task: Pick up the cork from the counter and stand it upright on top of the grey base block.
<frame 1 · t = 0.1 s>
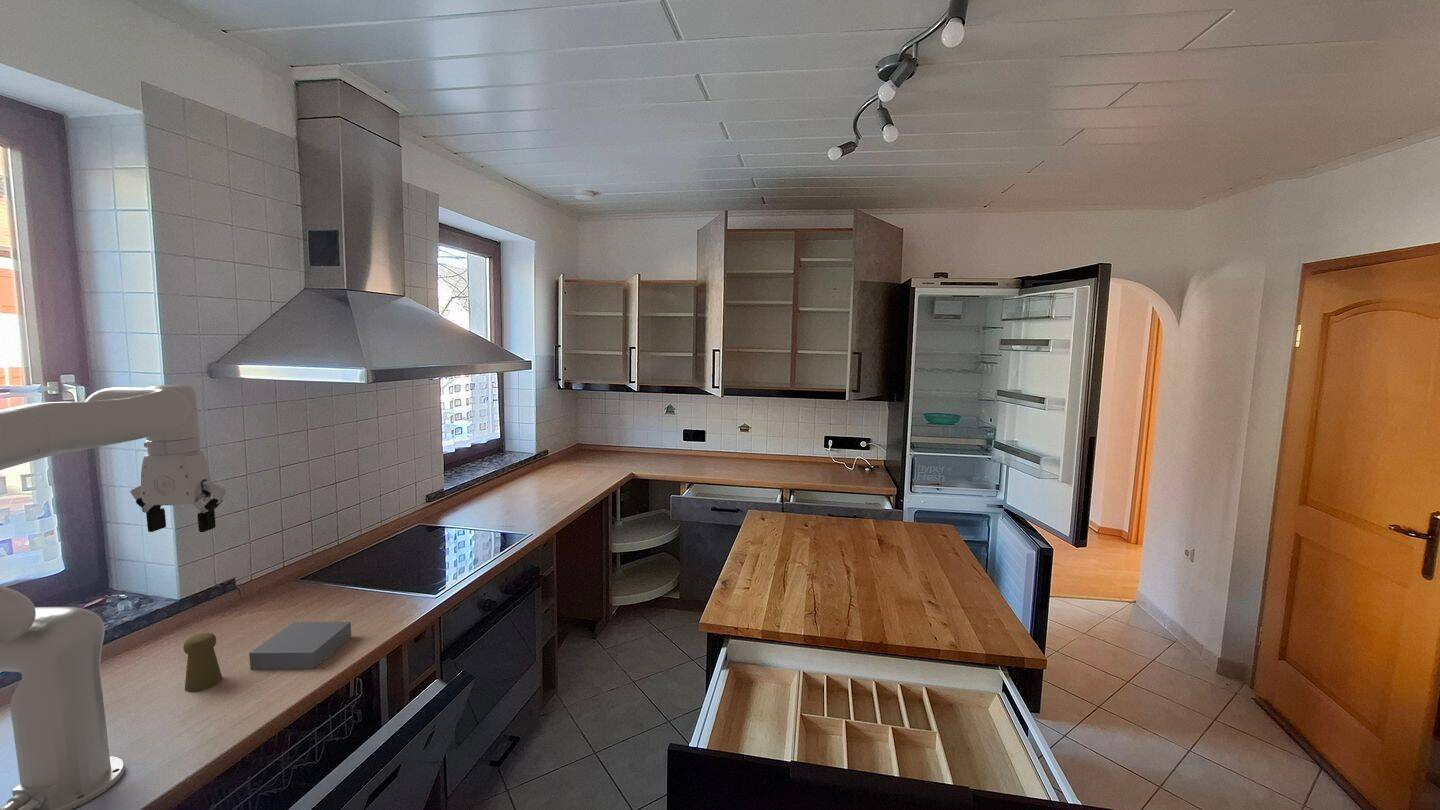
hand: (182, 529, 111), 37 cm above the countertop, tool pointing down, fingers open, 9 cm apart
cork: (203, 684, 120), on the countertop
base block: (303, 652, 133), on the countertop
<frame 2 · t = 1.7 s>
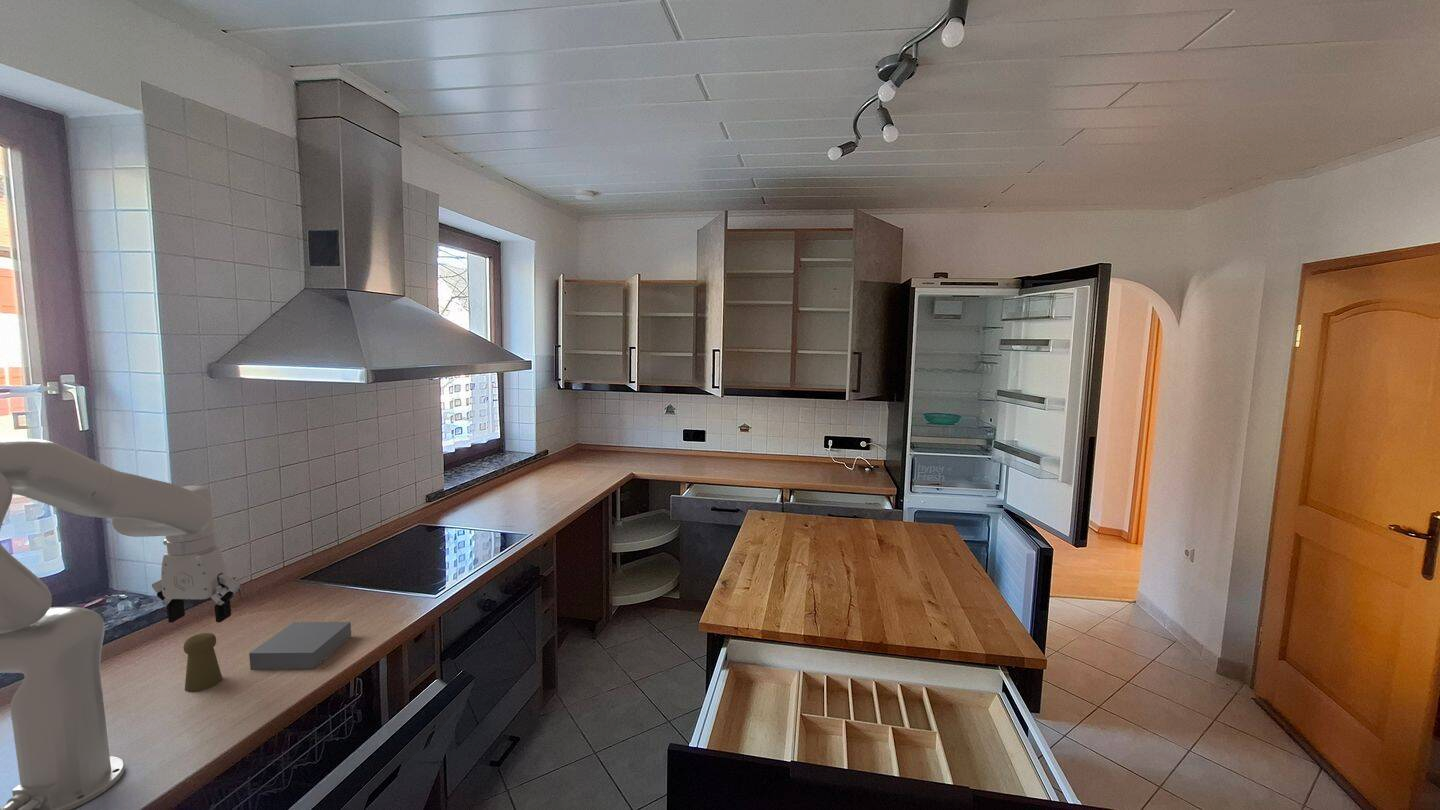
hand: (200, 619, 119), 14 cm above the countertop, tool pointing down, fingers open, 9 cm apart
nothing on the countertop moved.
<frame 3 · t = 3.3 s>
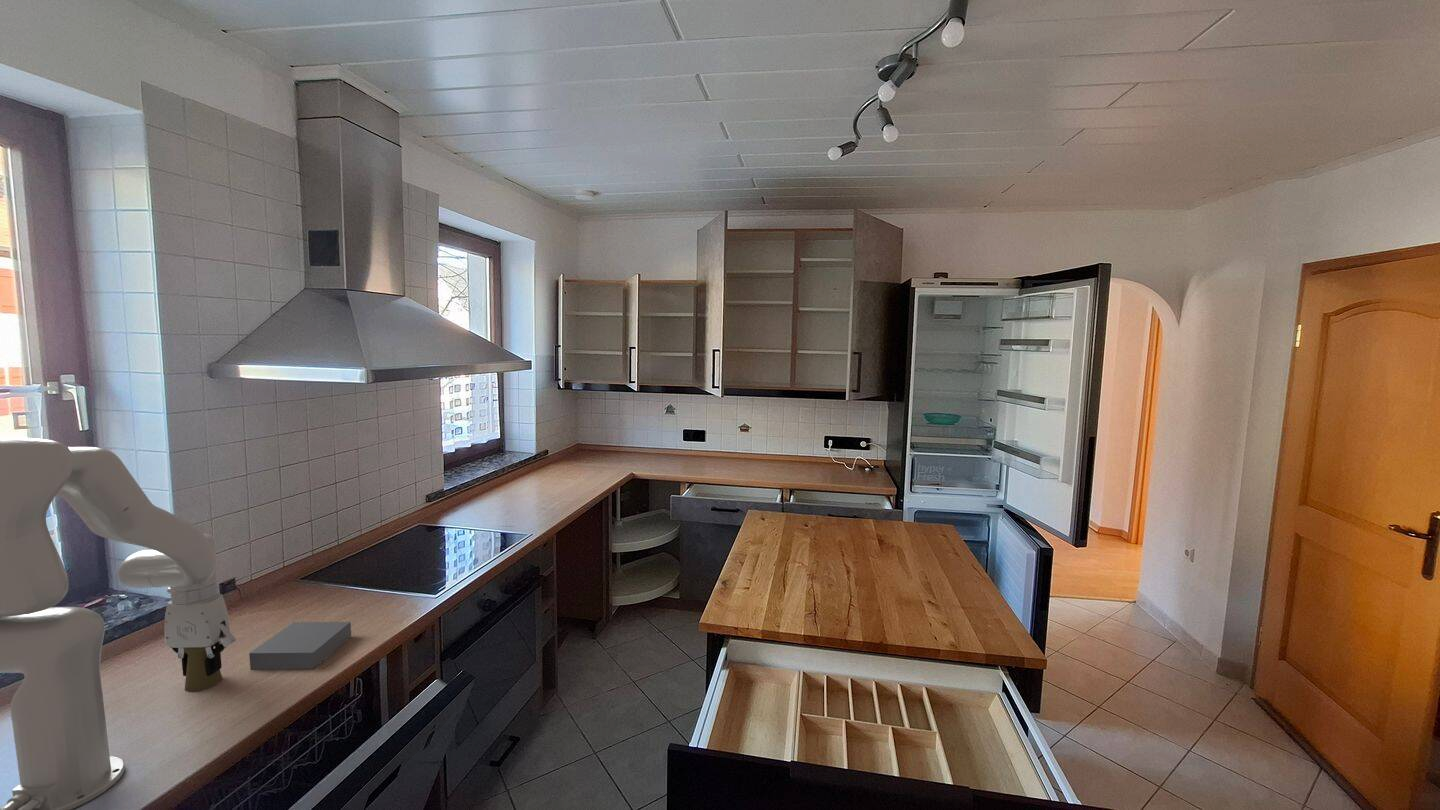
hand: (202, 671, 120), 3 cm above the countertop, tool pointing down, fingers closed on cork, 4 cm apart
cork: (203, 684, 120), on the countertop, touching gripper
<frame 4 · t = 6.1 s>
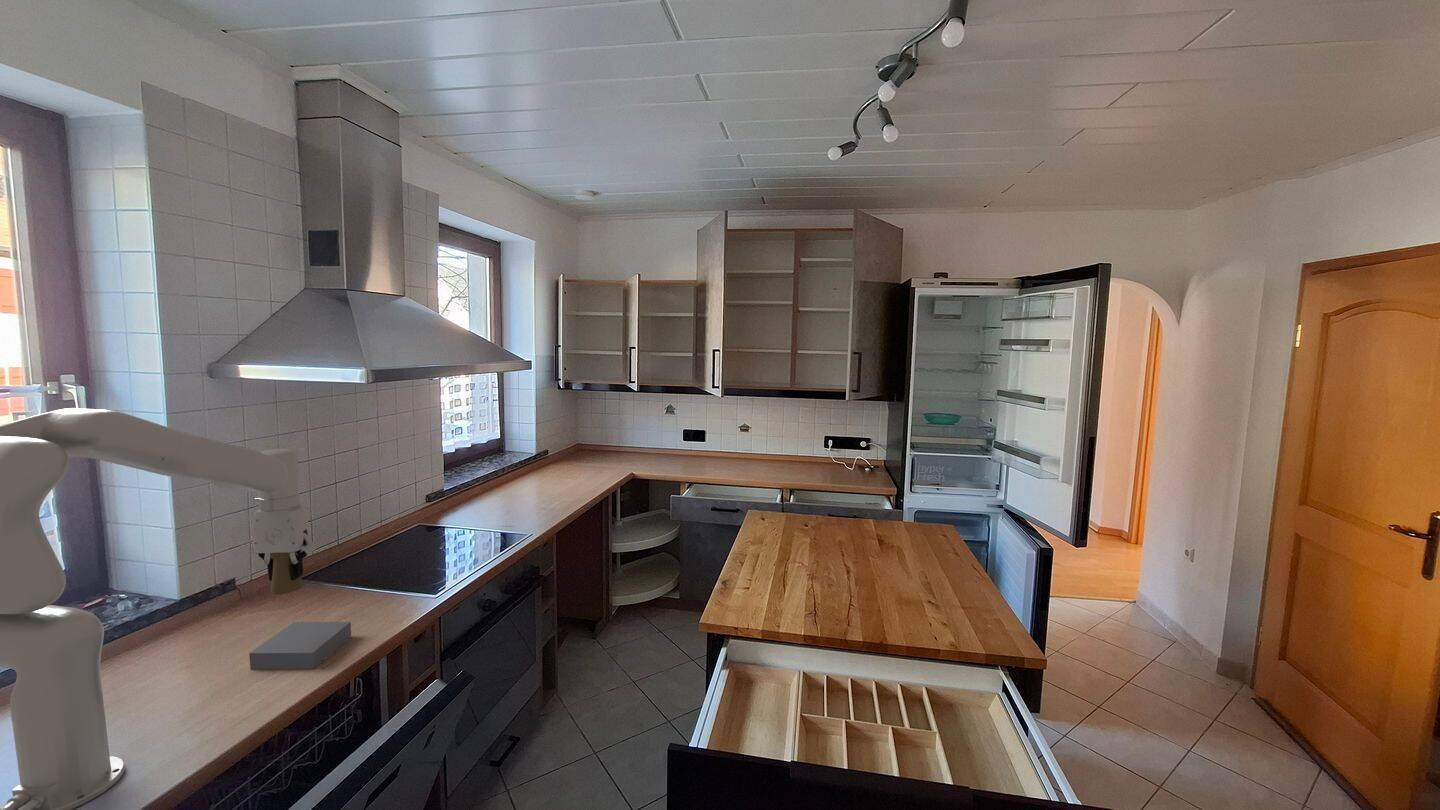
hand: (286, 577, 129), 20 cm above the countertop, tool pointing down, fingers closed on cork, 4 cm apart
cork: (287, 589, 129), point 17 cm above the countertop, touching gripper
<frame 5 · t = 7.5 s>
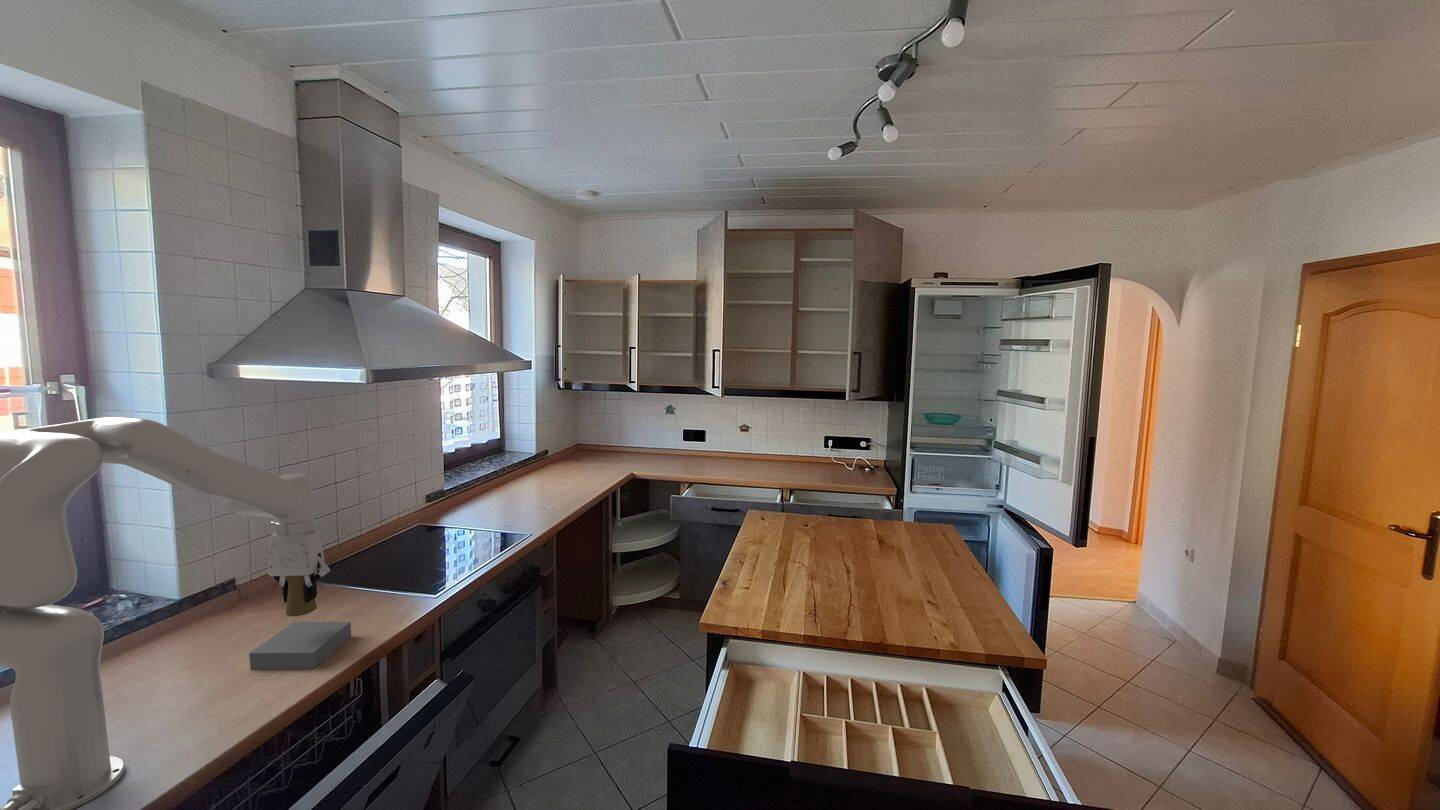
hand: (300, 599, 131), 13 cm above the countertop, tool pointing down, fingers closed on cork, 4 cm apart
cork: (301, 611, 132), point 10 cm above the countertop, touching gripper
when the fingers open (8 cm above the countertop, at t = 8.7 s): cork drops 1 cm, resting on base block.
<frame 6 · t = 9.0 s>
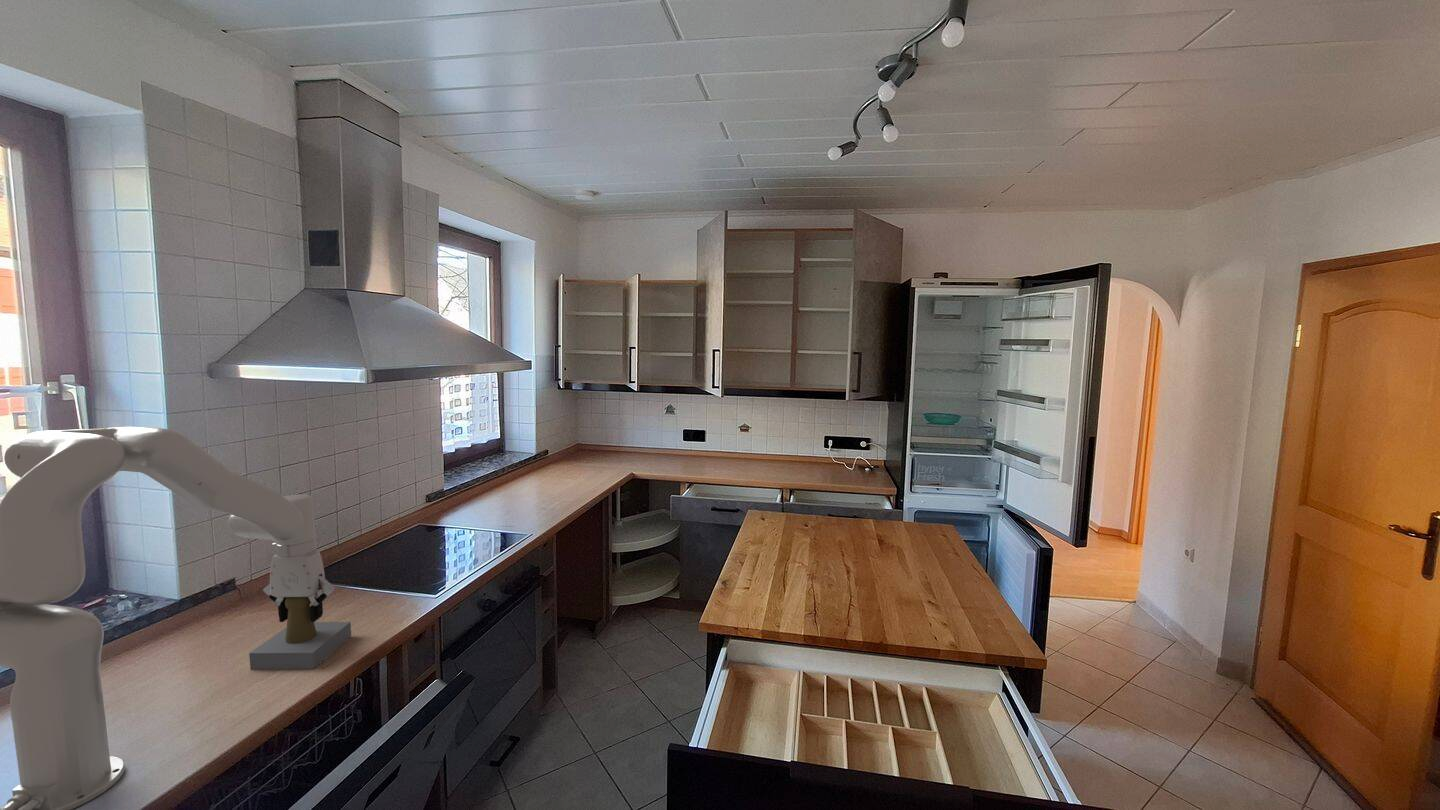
hand: (301, 618, 132), 9 cm above the countertop, tool pointing down, fingers open, 6 cm apart
cork: (301, 637, 132), point 4 cm above the countertop, touching base block
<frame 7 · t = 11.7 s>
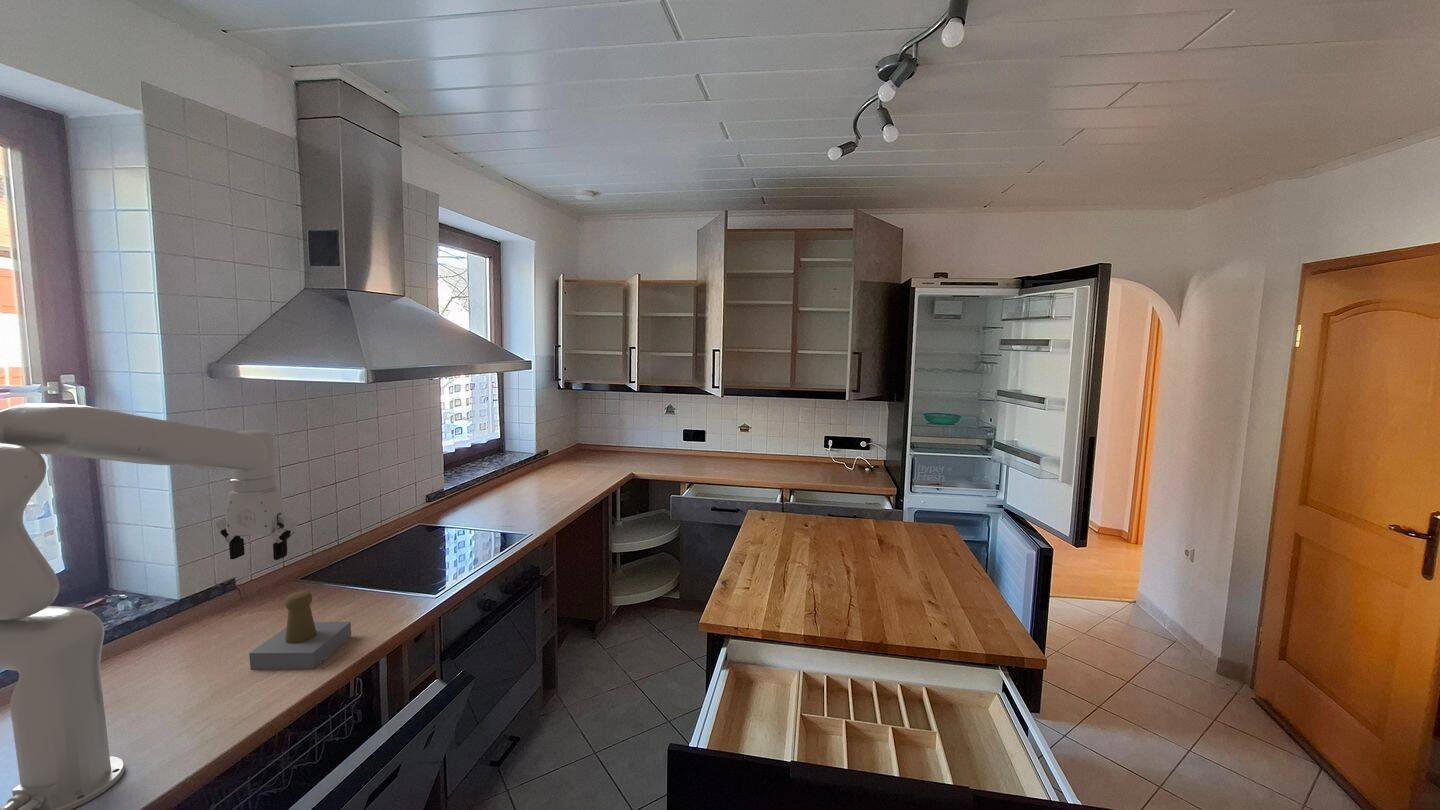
hand: (259, 557, 126), 25 cm above the countertop, tool pointing down, fingers open, 9 cm apart
nothing on the countertop moved.
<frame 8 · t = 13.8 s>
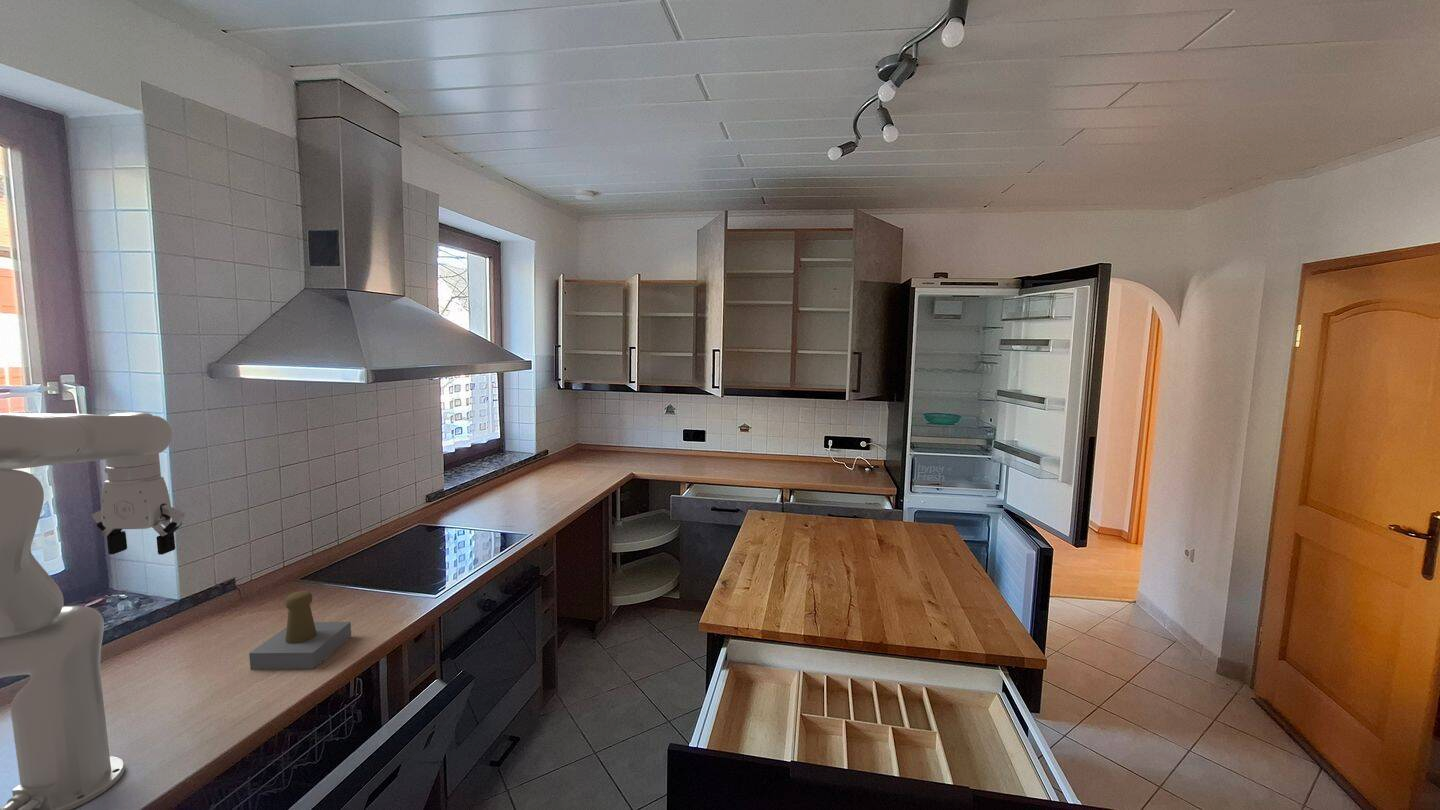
hand: (142, 552, 115), 30 cm above the countertop, tool pointing down, fingers open, 9 cm apart
nothing on the countertop moved.
at the end: cork inside the target area on the base block (0.3 cm from its centre), point 3.8 cm above the base block's base; cork tilted 0°; the gripper is holding nothing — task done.
